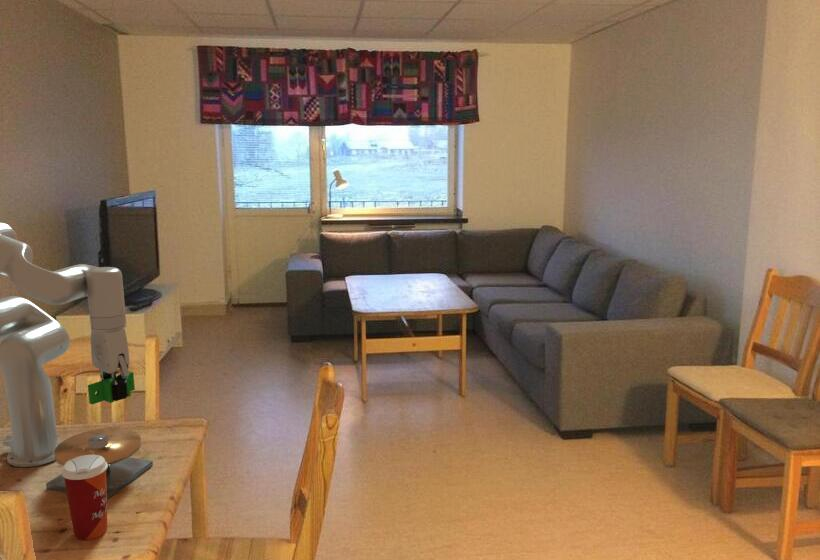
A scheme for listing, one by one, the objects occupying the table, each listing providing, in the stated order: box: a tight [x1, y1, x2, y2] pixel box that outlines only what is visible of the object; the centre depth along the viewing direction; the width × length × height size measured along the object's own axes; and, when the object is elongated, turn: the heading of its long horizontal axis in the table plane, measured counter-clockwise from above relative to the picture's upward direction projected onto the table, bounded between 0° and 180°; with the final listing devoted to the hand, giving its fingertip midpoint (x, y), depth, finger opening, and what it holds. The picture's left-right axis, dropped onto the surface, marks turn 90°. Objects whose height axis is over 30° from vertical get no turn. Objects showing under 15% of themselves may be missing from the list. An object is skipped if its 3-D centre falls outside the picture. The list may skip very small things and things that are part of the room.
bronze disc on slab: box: [45, 427, 154, 500], centre depth 160 cm, size 18×18×10 cm
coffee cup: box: [61, 455, 108, 541], centre depth 138 cm, size 8×8×15 cm
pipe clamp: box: [87, 371, 135, 405], centre depth 163 cm, size 11×4×5 cm, turn 146°
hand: (115, 395), depth 164 cm, fingers closed on pipe clamp, 4 cm apart
